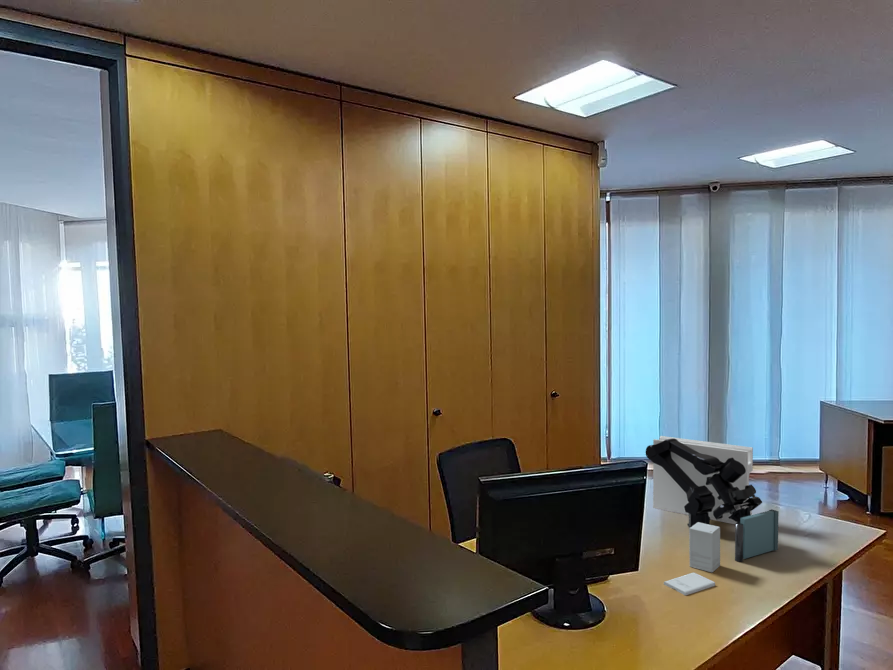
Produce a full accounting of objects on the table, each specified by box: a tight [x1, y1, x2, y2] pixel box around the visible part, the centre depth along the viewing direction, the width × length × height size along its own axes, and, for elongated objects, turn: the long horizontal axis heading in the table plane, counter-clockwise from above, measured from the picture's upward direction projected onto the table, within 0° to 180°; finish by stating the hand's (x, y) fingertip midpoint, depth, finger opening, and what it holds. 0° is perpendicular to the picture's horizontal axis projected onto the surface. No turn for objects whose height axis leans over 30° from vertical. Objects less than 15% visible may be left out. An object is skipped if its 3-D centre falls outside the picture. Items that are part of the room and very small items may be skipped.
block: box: [652, 435, 754, 525], centre depth 248 cm, size 35×8×28 cm, turn 51°
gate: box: [740, 508, 779, 560], centre depth 209 cm, size 16×2×13 cm, turn 117°
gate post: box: [734, 523, 744, 563], centre depth 205 cm, size 2×2×12 cm
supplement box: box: [688, 522, 721, 573], centre depth 201 cm, size 7×7×13 cm
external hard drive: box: [663, 572, 716, 596], centre depth 189 cm, size 2×8×12 cm
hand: (752, 530), depth 213 cm, fingers closed
